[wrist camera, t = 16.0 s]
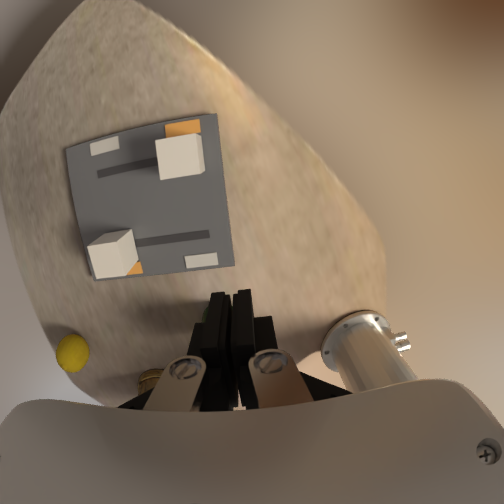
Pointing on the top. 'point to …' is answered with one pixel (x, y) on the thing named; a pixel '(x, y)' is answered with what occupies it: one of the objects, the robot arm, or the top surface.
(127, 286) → the top surface
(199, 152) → the front slider
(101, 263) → the back slider
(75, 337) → the lemon
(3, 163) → the top surface
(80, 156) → the switch panel
